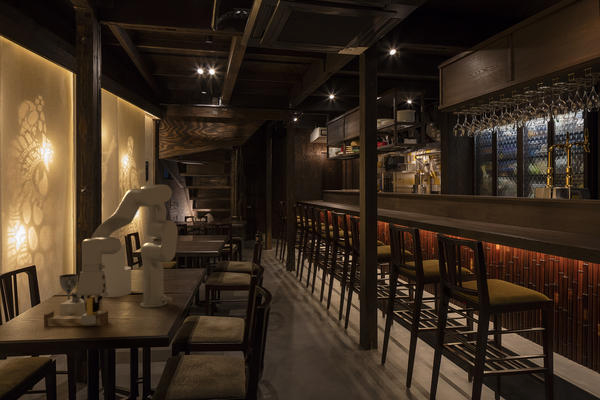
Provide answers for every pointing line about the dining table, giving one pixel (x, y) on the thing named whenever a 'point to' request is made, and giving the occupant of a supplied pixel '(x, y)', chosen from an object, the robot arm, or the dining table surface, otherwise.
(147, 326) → the dining table surface
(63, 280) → the wine glass
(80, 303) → the housing
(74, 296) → the plunger
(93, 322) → the carriage
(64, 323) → the rail
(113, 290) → the cylinder
